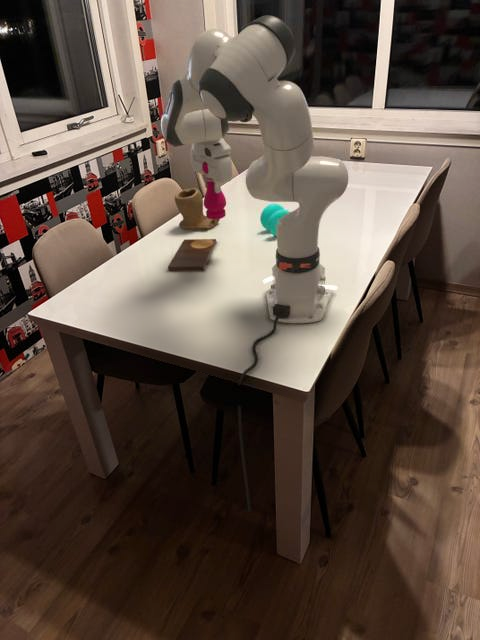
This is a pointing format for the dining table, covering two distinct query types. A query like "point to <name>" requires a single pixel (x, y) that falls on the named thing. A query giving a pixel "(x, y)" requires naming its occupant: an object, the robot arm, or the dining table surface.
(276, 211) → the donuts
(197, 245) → the serving board
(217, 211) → the pepper mill
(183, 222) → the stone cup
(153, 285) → the dining table surface
